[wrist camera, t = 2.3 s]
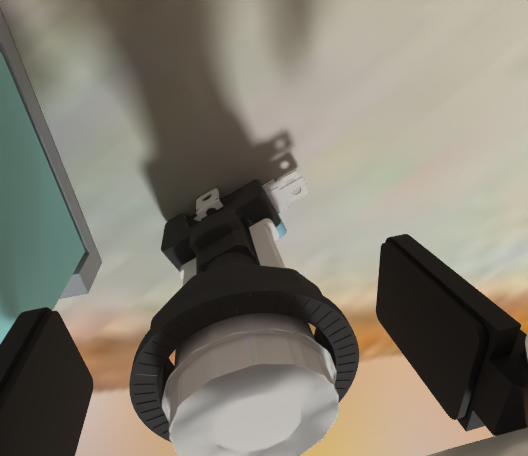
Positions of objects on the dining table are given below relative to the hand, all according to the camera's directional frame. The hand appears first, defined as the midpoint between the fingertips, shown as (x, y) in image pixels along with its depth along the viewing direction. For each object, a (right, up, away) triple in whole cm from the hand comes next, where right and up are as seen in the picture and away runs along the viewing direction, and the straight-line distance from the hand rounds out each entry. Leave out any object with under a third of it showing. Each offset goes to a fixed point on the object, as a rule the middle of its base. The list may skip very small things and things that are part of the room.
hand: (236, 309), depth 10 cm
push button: (-1, +3, +6) cm, 7 cm away
